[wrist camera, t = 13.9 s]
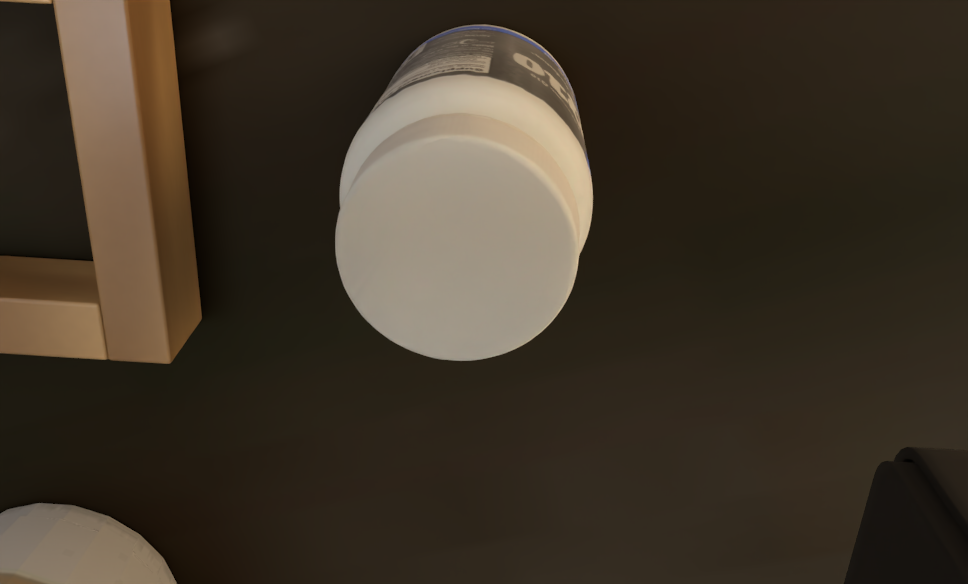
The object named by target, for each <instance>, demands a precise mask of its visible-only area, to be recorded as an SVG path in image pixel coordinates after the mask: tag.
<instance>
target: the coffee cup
mask: <svg viewBox="0 0 968 584" xmlns="http://www.w3.org/2000/svg"><path fill="white" fill-rule="evenodd" d="M0 584H177V582H176V580H175V579H174V577H173V575H172V573H171V571H170V569H169V567H168V566H167V564H166V562H165V560H164V558H163V557H162V556H161V555H160V554H159V553H158V552H157V551H156V550H155V549H154V548H153V547H152V546H151V545H150V544H149V543H148V542H147V541H146V540H145V539H144V538H143V537H142V536H141V535H140V534H138V533H136V532H135V531H133V530H131V529H130V528H128V527H126V526H125V525H123V524H121V523H119V522H118V521H116V520H114V519H113V518H111V517H109V516H106V515H103V514H100V513H97V512H94V511H91V510H87V509H84V508H81V507H78V506H75V505H62V504H47V503H36V504H31V505H26V506H21V507H16V508H12V509H7V510H6V511H4V512H2V513H1V514H0Z"/></svg>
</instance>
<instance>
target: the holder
mask: <svg viewBox="0 0 968 584" xmlns="http://www.w3.org/2000/svg"><path fill="white" fill-rule="evenodd" d="M0 1H2V2H20V3H38V4H52V3H53V4H54V11H55V17H56V24H57V30H58V36H59V43H60V49H61V56H62V62H63V68H64V75H65V81H66V88H67V94H68V100H69V107H70V113H71V120H72V126H73V132H74V139H75V145H76V152H77V158H78V165H79V171H80V177H81V184H82V190H83V197H84V203H85V209H86V216H87V222H88V229H89V235H90V241H91V248H92V254H93V261H81V260H65V259H49V258H32V257H16V256H0V353H4V354H20V355H36V356H52V357H68V358H84V359H100V360H105V359H108V358H109V359H110V360H115V361H131V362H147V363H163V364H169V363H171V362H172V361H173V359H174V358H175V357H176V355H177V354H178V352H179V351H180V349H181V348H182V347H183V345H184V344H185V342H186V341H187V339H188V338H189V337H190V335H191V334H192V332H193V331H194V330H195V328H196V327H197V325H198V324H199V322H200V321H201V319H202V312H201V303H200V293H199V283H198V273H197V263H196V254H195V244H194V234H193V224H192V214H191V204H190V195H189V185H188V175H187V165H186V155H185V145H184V136H183V126H182V116H181V106H180V96H179V86H178V77H177V67H176V57H175V47H174V37H173V27H172V18H171V8H170V0H0Z"/></svg>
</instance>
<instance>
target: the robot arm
mask: <svg viewBox="0 0 968 584" xmlns="http://www.w3.org/2000/svg"><path fill="white" fill-rule="evenodd" d="M844 584H968V451H965V450H953V449H935V448H917V447H906V448H904V449H901V450H900V452H899V453H898V454H897V455H896V457H895V459H894V462H893V461H885V462H882V463H881V464H880V465H879V466H878V468H877V470H876V472H875V475H874V478H873V482H872V486H871V489H870V493H869V496H868V500H867V503H866V507H865V510H864V514H863V518H862V521H861V525H860V528H859V532H858V535H857V539H856V543H855V546H854V550H853V553H852V557H851V560H850V564H849V567H848V571H847V575H846V578H845V582H844Z"/></svg>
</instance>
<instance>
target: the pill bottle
mask: <svg viewBox="0 0 968 584" xmlns="http://www.w3.org/2000/svg"><path fill="white" fill-rule="evenodd" d="M592 207H593V189H592V180H591V172H590V167H589V161H588V158H587V154H586V148H585V142H584V136H583V132H582V127H581V121H580V117H579V112H578V107H577V103H576V99H575V96H574V93H573V90H572V87H571V85H570V83H569V80H568V78H567V76H566V75H565V73H564V71H563V69H562V68H561V67H560V65H559V64H558V62H557V61H556V60H555V59H554V57H553V56H552V55H551V54H550V53H549V52H548V51H547V50H546V49H544V48H543V47H542V46H541V45H540V44H538V43H537V42H535V41H533V40H532V39H530V38H529V37H527V36H525V35H523V34H520V33H518V32H515V31H513V30H510V29H507V28H503V27H499V26H493V25H485V24H484V25H467V26H461V27H457V28H453V29H450V30H447V31H444V32H442V33H440V34H438V35H436V36H434V37H432V38H430V39H428V40H427V41H426V42H424V43H423V44H422V45H420V46H419V47H418V48H417V49H416V50H414V51H413V52H412V53H411V54H410V55H409V56H408V58H407V59H406V60H405V61H404V62H403V64H402V65H401V66H400V68H399V69H398V71H397V72H396V74H395V75H394V76H393V78H392V80H391V81H390V83H389V85H388V87H387V88H386V90H385V92H384V93H383V95H382V96H381V97H380V98H379V100H378V102H377V104H376V105H375V107H374V108H373V109H372V111H371V112H370V114H369V115H368V116H367V118H366V120H365V121H364V123H363V124H362V125H361V127H360V128H359V130H358V132H357V133H356V135H355V137H354V139H353V141H352V143H351V145H350V148H349V150H348V152H347V155H346V158H345V162H344V166H343V170H342V174H341V181H340V212H339V215H338V220H337V225H336V233H335V251H336V259H337V265H338V269H339V273H340V276H341V279H342V282H343V285H344V288H345V290H346V291H347V293H348V295H349V297H350V299H351V301H352V302H353V304H354V305H355V307H356V308H357V310H358V311H359V312H360V314H361V315H362V316H363V317H364V318H365V319H366V320H367V321H368V322H369V323H370V324H371V325H372V326H373V327H374V328H375V329H376V330H377V331H379V332H380V333H381V334H383V335H384V336H385V337H387V338H388V339H389V340H391V341H393V342H394V343H396V344H398V345H400V346H402V347H404V348H406V349H408V350H410V351H413V352H416V353H418V354H421V355H425V356H428V357H432V358H436V359H443V360H454V361H470V360H480V359H485V358H490V357H494V356H498V355H501V354H504V353H507V352H509V351H511V350H514V349H516V348H518V347H520V346H522V345H524V344H526V343H527V342H529V341H530V340H532V339H533V338H534V337H535V336H537V335H538V334H540V333H541V332H542V331H543V330H544V329H545V328H546V327H547V326H548V325H549V324H550V323H551V322H552V321H553V320H554V318H555V317H556V316H557V314H558V313H559V312H560V311H561V309H562V307H563V306H564V304H565V302H566V301H567V299H568V297H569V295H570V293H571V291H572V288H573V285H574V281H575V277H576V273H577V269H578V260H579V255H580V253H581V251H582V249H583V246H584V244H585V241H586V238H587V235H588V231H589V228H590V224H591V217H592Z"/></svg>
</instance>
